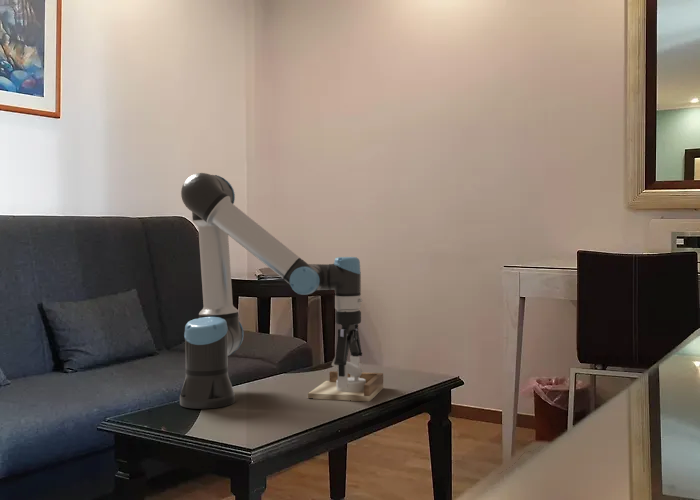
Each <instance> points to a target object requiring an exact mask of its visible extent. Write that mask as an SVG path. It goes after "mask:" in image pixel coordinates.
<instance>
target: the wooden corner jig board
mask: <svg viewBox="0 0 700 500" xmlns="http://www.w3.org/2000/svg"><path fill="white" fill-rule="evenodd" d="M328 375H329V380H325V381H324V382H322V383H321V384H319V385H318V386H316V387H315V388H314V389H312V390H310V392H307V399H308V398H313V399H312V400H327V401H328V400H329V401H331V400H332V401H333V400H334V401H350V400H351V401H352V402H371V401H372V400H373V398H375V397H376V396H377V395H378V393H380V392H381V391H382V390H384V373H383V372H363V371H362V374H361V376H360V378H363V379H365V380H366V384H365V385H364V391H360V392H341V391H338V390H337V389H336V380H338V370H337V371H335V370H334V371H332V370H330V371H329V374H328ZM349 377H350V374H348V378H349ZM351 401H350V402H351Z"/></svg>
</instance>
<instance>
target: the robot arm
mask: <svg viewBox="0 0 700 500" xmlns="http://www.w3.org/2000/svg"><path fill="white" fill-rule="evenodd" d="M235 196H236V195H235V190H234V187H233V186H232V184H231V183H230V182H229V181H228V180H227V179H225V177H223V176H220V175H217V174H209V173H206V172H198V173H197V172H196V173H194V174H192V175H190V176H189V177H188V178H186V179H185V181H184V182H183V183H182V186H181V191H180V197H181V200H182V203H183V204H184V206H185V207H186V208H187V209H188V210H189V211H190V212H191V215H192V217H191V218H192V222H193V223H194V224H195V225H196V226H197V228H198V241H199V255H200V273H201V285H202V287H201V288H202V300H203V301H202V302H203V303H202V304H203V307H202V309H201V310H200V311H199V313H198V318H194V319H192V320H191V319H190V320H189V321H187V323H186V324H185V326H184V332H183V333H184V334H183V336H184V355H185V356H184V357H185V359H184V360H185V362H184V363H185V378H184V381H183V384H182V387H181V391H180V394H179V405H180V407H183V408H187V409H198V410H201V409H202V410H203V409H204V410H205V409H217V408H223V407H227V406H229V405H230V406H231V405H233V404H234V403H235V401H236V400H235V399H236V397H235V391H234V387H233V384H232V382H231V379H230V376H229V367H228V366H229V365H228V362H229V359H228V358H229V357H230V356H232V355H233V354H234V353H236V351H238V349H240V346H241V345H242V343H243V340H244V328H243V325H242V323H241V322H240V319H239V318H240V317H239V309H237V308H236V307H235V306H234V304H233V301H234V300H233V288H232V274H231V273H232V272H231V259H230V244H229V237H230V238H231V239H233V240H234V241H235V242H236V243H238V244H239V245H240V246H242V247H243V248H244V249H245V250H247V252H249V253H250V254H251V255H252V256H254V257H256V259H258V260H259V261H260V262H262V263H263V264H265V265H266V267H268V268H269V269H270V270H271V271H273V272H274V273H275V274H276V275H278V276H279V277H280V278H282V280H284V281H285V282H286V283H287V284H288V285H289V286H290V288H291V289H292V290H293V291H294V292H295V293H296V294H297V295H302V296H304V295H312V294H313V293H314V292H316V291H324V290H325V291H328V290H329V291H332V290H334V309H335V310H336V311H335V312H334V314H335V315H334V316H335V318H334V319H335V324H337V325H341V329H340V328H339V329H337V341H336V349H335V356H336V358H335V357H334V358H335V361H334V364H335V365H338V368H337V371H338V388H348V372H347V364H346V362H347V361H348V355H349V352H350V356H349V362H350V363H352V364H354V365H356V366H358V367H360V357H362V356H363V352H362V347H361V340H360V333H359V332H360V331H359V324H361V322H362V311H361V310H360V309H361V307H362V306H361V305H362V303H363V301H364V300H363V299H362V298H361V294H362V293H361V292H362V291H361V289H362V288H361V287H362V285H361V283H362V281H361V279H362V277H361V275H362V274H361V262H360V259H359V258H358V257H355V256H338V257H335V258H334V262H333V263H329V264H328V263H327V264H324V263H323V264H320V263H316V264H315V263H311V264H310V263H307V262H306V261H304V260H303V259H302V258H301V257H300V256H298V255H297V254H296V253H295V252H294V251H293V250H291V249H290V248H288V247H287V246H286V245H285V244H284V243H282V242H281V241H280V240H278V238H276V237H275V236H274V235H272V234H271V233H270V232H268V231H267V230H266V229H265V228H263V226H261V225H260V224H259V223H257V222H256V221H255V220H253V219H252V218H251V217H250V216H248V215H247V214H246V213H245V212H243V211H242V210H241V209H240V208H238V206H236V205H235V200H236V199H235V198H236V197H235ZM228 356H229V357H228ZM360 368H361V367H360ZM350 377H354V376H353V375H351V374H350ZM359 378H360V376H359Z"/></svg>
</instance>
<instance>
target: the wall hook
mask: <svg viewBox="0 0 700 500" xmlns="http://www.w3.org/2000/svg"><path fill="white" fill-rule="evenodd" d="M335 358H336V355H335V357H334V358H333V360H332V362H331V366H332V367H333V368H336V369H338V365H335V364H334V361H335ZM346 364H347V372H348V374H351V375H353V376H354V377H349V378H348V388H338V380H336V389H337V390H338V391H341V392H360V391H364V385H365V384H366V380H365V379H363V378H359V376H361V374H362V372H363V370H362V369H363V368H361V367H358V366H356V365H354V364H352V363H350V361H348V360H347V362H346Z"/></svg>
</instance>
